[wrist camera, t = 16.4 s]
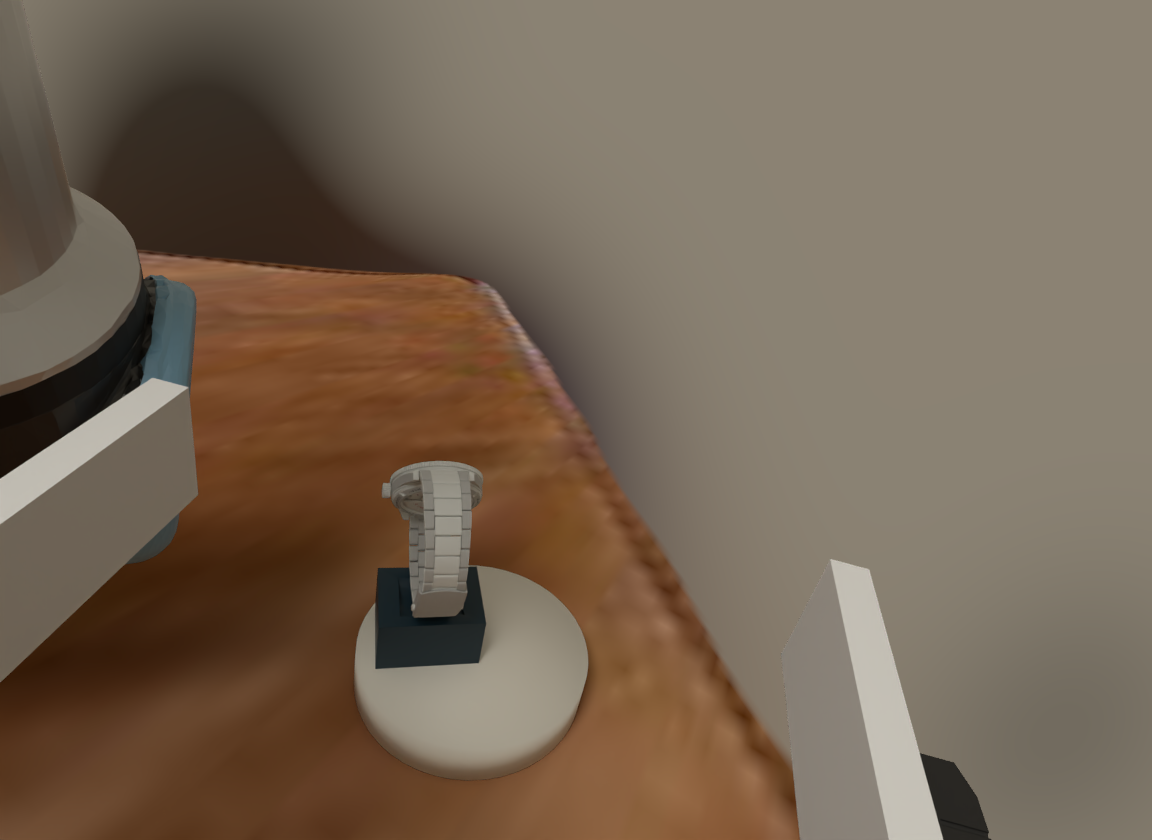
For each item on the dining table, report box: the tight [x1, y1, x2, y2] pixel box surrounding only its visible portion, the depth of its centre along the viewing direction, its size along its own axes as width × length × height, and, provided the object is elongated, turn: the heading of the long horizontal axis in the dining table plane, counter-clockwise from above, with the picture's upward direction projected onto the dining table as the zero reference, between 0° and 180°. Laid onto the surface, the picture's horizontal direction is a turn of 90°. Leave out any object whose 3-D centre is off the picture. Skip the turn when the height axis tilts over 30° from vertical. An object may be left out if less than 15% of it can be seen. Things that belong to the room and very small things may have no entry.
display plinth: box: [354, 565, 588, 780], centre depth 42 cm, size 13×13×2 cm
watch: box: [375, 461, 486, 669], centre depth 38 cm, size 6×8×11 cm
